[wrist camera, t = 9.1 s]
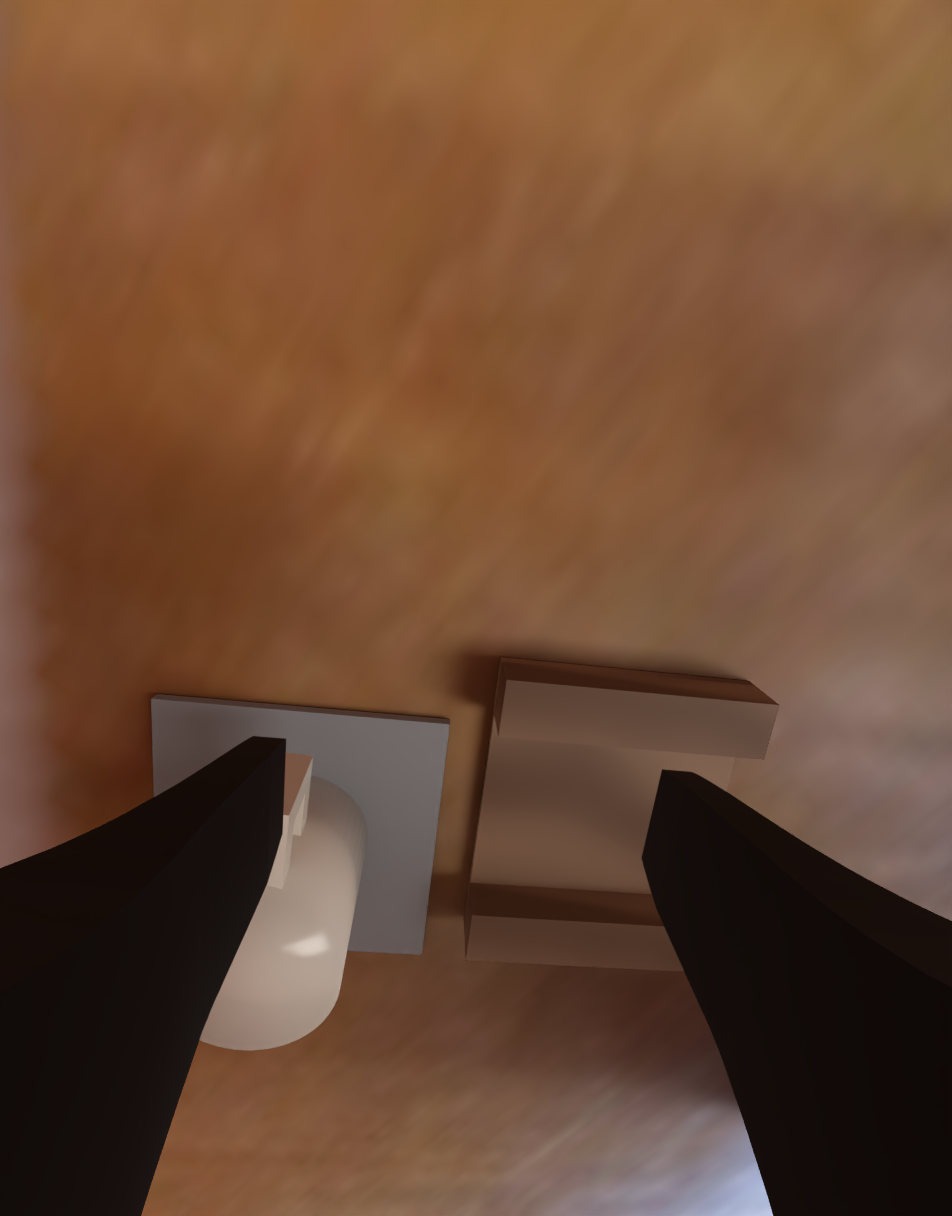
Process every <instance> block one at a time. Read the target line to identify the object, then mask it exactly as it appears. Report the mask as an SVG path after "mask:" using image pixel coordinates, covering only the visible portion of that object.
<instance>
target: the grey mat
mask: <svg viewBox="0 0 952 1216" xmlns="http://www.w3.org/2000/svg"><path fill="white" fill-rule="evenodd" d="M151 714H152V752H153V790H154V797H155V796H157V795H159V794H161V793H162V792H164V791H166V790H168V789H169V788H171V787H173V786H175V785H176V784H178V783H180V782H181V781H183V780H184V779H186V778H187V777H189V776H191V775H192V774H194V773H195V772H197V771H198V770H200V769H202V768H203V767H205V766H206V765H208V764H209V763H211V762H213V761H214V760H216V759H217V758H219V757H220V756H222V755H223V754H225V753H226V752H228V751H229V750H231V749H232V748H234V747H235V746H237V745H239V744H240V743H242V742H243V741H245V740H247V739H248V738H250V737H252V736H260V737H272V738H284V739H286V753H295V754H303V755H312V756H313V763H312V772H311V776H315V777H319V778H322V779H325V780H327V781H329V782H331V783H333V784H335V785H337V786H338V787H340V788H341V789H343V790H344V791H345V792H347V793H348V794H349V795H350V796H351V797H352V798H353V800H354V801H355V802H356V803H357V805H358V806H359V808H360V810H361V811H362V813H363V816H364V818H365V822H366V826H367V834H368V836H367V845H366V851H365V856H364V862H363V867H362V873H361V878H360V883H359V889H358V894H357V900H356V905H355V911H354V916H353V921H352V927H351V932H350V938H349V943H348V949H347V951H359V952H378V953H397V954H416V955H422V949H423V940H424V932H425V924H426V916H427V907H428V899H429V891H430V883H431V874H432V866H433V858H434V850H435V841H436V833H437V825H438V817H439V808H440V800H441V792H442V784H443V775H444V767H445V759H446V751H447V742H448V734H449V726H450V719H442V718H431V717H419V716H407V715H396V714H384V713H373V712H361V711H350V710H338V709H326V708H315V707H303V706H292V705H280V704H268V703H257V702H245V701H234V700H222V699H211V698H199V697H187V696H176V695H164V694H156V695H155V696H154V697H153V698H151Z"/></svg>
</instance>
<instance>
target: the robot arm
mask: <svg viewBox="0 0 952 1216" xmlns="http://www.w3.org/2000/svg"><path fill="white" fill-rule="evenodd" d="M285 761H286V739H284V738H272V737H260V736H252V737H250V738H248V739H247V740H245V741H243V742H242V743H240V744H239V745H237V746H235V747H234V748H232V749H231V750H229V751H228V752H226V753H225V754H223V755H222V756H220V757H219V758H217V759H216V760H214V761H213V762H211V763H209V764H208V765H206V766H205V767H203V768H202V769H200V770H198V771H197V772H195V773H194V774H192V775H191V776H189V777H187V778H186V779H184V780H183V781H181V782H180V783H178V784H176V785H175V786H173V787H171V788H169V789H168V790H166V791H164V792H162V793H161V794H159V795H157V796H155V797H154V798H152V799H150V800H148V801H146V802H145V803H143V804H141V805H139V806H138V807H136V808H134V809H132V810H131V811H129V812H127V813H125V814H123V815H121V816H119V817H118V818H116V819H114V820H112V821H110V822H108V823H106V824H104V825H102V826H100V827H98V828H95V829H93V830H91V831H89V832H87V833H85V834H82V835H80V836H78V837H76V838H74V839H72V840H69V841H67V842H65V843H63V844H61V845H58V846H56V847H54V848H51V849H49V850H46V851H44V852H41V853H38V854H36V855H33V856H31V857H28V858H26V859H23V860H20V861H18V862H15V863H13V864H10V865H8V866H5V867H2V868H0V1216H141V1214H142V1211H143V1208H144V1205H145V1201H146V1198H147V1195H148V1192H149V1189H150V1186H151V1182H152V1179H153V1176H154V1173H155V1170H156V1167H157V1164H158V1161H159V1158H160V1155H161V1152H162V1149H163V1146H164V1143H165V1140H166V1137H167V1134H168V1131H169V1128H170V1125H171V1122H172V1119H173V1116H174V1113H175V1110H176V1107H177V1104H178V1101H179V1098H180V1095H181V1092H182V1089H183V1086H184V1083H185V1080H186V1077H187V1074H188V1072H189V1069H190V1066H191V1063H192V1060H193V1057H194V1054H195V1051H196V1048H197V1045H198V1042H199V1040H200V1037H201V1034H202V1031H203V1029H204V1026H205V1024H206V1021H207V1019H208V1016H209V1014H210V1012H211V1009H212V1007H213V1004H214V1002H215V1000H216V997H217V995H218V993H219V991H220V989H221V986H222V984H223V982H224V980H225V977H226V975H227V973H228V971H229V969H230V966H231V964H232V962H233V960H234V957H235V955H236V953H237V951H238V949H239V946H240V944H241V942H242V940H243V938H244V935H245V933H246V931H247V929H248V926H249V924H250V922H251V920H252V917H253V915H254V913H255V911H256V908H257V906H258V904H259V902H260V899H261V897H262V895H263V893H264V890H265V888H266V886H267V883H268V880H269V877H270V874H271V870H272V867H273V864H274V861H275V858H276V854H277V851H278V847H279V844H280V841H281V837H282V834H283V810H284V785H285ZM641 859H642V862H643V866H644V869H645V873H646V877H647V880H648V884H649V887H650V890H651V894H652V897H653V900H654V903H655V906H656V909H657V911H658V914H659V916H660V918H661V921H662V923H663V925H664V927H665V930H666V932H667V934H668V936H669V939H670V941H671V943H672V945H673V948H674V950H675V952H676V954H677V957H678V959H679V961H680V963H681V965H682V967H683V970H684V972H685V974H686V976H687V978H688V981H689V983H690V985H691V987H692V989H693V992H694V994H695V996H696V998H697V1000H698V1003H699V1005H700V1007H701V1009H702V1011H703V1014H704V1016H705V1018H706V1020H707V1022H708V1025H709V1027H710V1029H711V1032H712V1034H713V1037H714V1039H715V1042H716V1044H717V1047H718V1049H719V1052H720V1054H721V1057H722V1060H723V1062H724V1065H725V1068H726V1071H727V1074H728V1077H729V1080H730V1083H731V1086H732V1088H733V1091H734V1094H735V1097H736V1100H737V1103H738V1106H739V1109H740V1112H741V1114H742V1117H743V1120H744V1123H745V1127H746V1130H747V1133H748V1136H749V1139H750V1142H751V1145H752V1148H753V1152H754V1155H755V1158H756V1161H757V1164H758V1167H759V1170H760V1174H761V1177H762V1180H763V1183H764V1186H765V1189H766V1192H767V1195H768V1199H769V1202H770V1206H771V1209H772V1213H773V1216H952V921H950V920H948V919H946V918H944V917H941V916H939V915H937V914H935V913H933V912H931V911H929V910H927V909H924V908H922V907H920V906H918V905H916V904H914V903H912V902H910V901H908V900H906V899H904V898H902V897H900V896H898V895H897V894H895V893H893V892H891V891H889V890H887V889H885V888H883V887H881V886H879V885H877V884H875V883H873V882H871V881H870V880H868V879H866V878H864V877H862V876H860V875H859V874H857V873H855V872H853V871H851V870H850V869H848V868H846V867H844V866H843V865H841V864H839V863H838V862H836V861H834V860H833V859H831V858H829V857H828V856H826V855H824V854H823V853H821V852H819V851H818V850H816V849H814V848H813V847H811V846H809V845H808V844H806V843H804V842H803V841H801V840H800V839H798V838H796V837H795V836H793V835H792V834H790V833H789V832H787V831H786V830H784V829H782V828H781V827H779V826H778V825H776V824H775V823H773V822H772V821H770V820H769V819H767V818H766V817H764V816H763V815H761V814H759V813H758V812H756V811H755V810H753V809H752V808H750V807H749V806H747V805H746V804H744V803H743V802H741V801H740V800H738V799H737V798H735V797H734V796H732V795H731V794H729V793H728V792H726V791H725V790H723V789H721V788H720V787H718V786H717V785H715V784H713V783H712V782H710V781H708V780H707V779H705V778H703V777H701V776H699V775H698V774H696V773H694V772H689V771H676V770H664V769H662V771H661V776H660V780H659V784H658V789H657V793H656V797H655V802H654V806H653V810H652V815H651V819H650V823H649V828H648V832H647V836H646V840H645V845H644V849H643V853H642V858H641Z"/></svg>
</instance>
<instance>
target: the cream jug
mask: <svg viewBox="0 0 952 1216" xmlns="http://www.w3.org/2000/svg"><path fill="white" fill-rule="evenodd" d="M312 763H313V756H312V755H303V754H295V753H286V761H285V785H284V810H283V834H282V837H281V841H280V844H279V847H278V851H277V854H276V858H275V861H274V864H273V867H272V870H271V874H270V877H269V880H268V883H267V886H266V888H265V890H264V893H263V895H262V897H261V899H260V902H259V904H258V906H257V908H256V911H255V913H254V915H253V917H252V920H251V922H250V924H249V926H248V929H247V931H246V933H245V935H244V938H243V940H242V942H241V944H240V946H239V949H238V951H237V953H236V955H235V957H234V960H233V962H232V964H231V966H230V969H229V971H228V973H227V975H226V977H225V980H224V982H223V984H222V986H221V989H220V991H219V993H218V995H217V997H216V1000H215V1002H214V1004H213V1007H212V1009H211V1012H210V1014H209V1016H208V1019H207V1021H206V1024H205V1026H204V1029H203V1031H202V1034H201V1037H200V1040H201V1041H203V1042H205V1043H208V1044H211V1045H214V1046H218V1047H222V1048H227V1049H235V1050H264V1049H270V1048H275V1047H279V1046H282V1045H286V1044H289V1043H291V1042H294V1041H296V1040H298V1039H300V1038H302V1037H304V1036H306V1035H307V1034H309V1033H310V1032H311V1031H313V1030H314V1029H316V1028H317V1027H318V1026H319V1025H320V1024H321V1023H322V1022H323V1021H324V1020H325V1019H326V1018H327V1016H328V1015H329V1014H330V1012H331V1011H332V1009H333V1007H334V1006H335V1003H336V1001H337V998H338V996H339V991H340V987H341V981H342V976H343V970H344V965H345V960H346V954H347V949H348V943H349V938H350V932H351V927H352V921H353V916H354V911H355V905H356V900H357V894H358V889H359V883H360V878H361V873H362V867H363V862H364V856H365V851H366V845H367V836H368V834H367V826H366V822H365V818H364V816H363V813H362V811H361V810H360V808H359V806H358V805H357V803H356V802H355V801H354V800H353V798H352V797H351V796H350V795H349V794H348V793H347V792H345V791H344V790H343V789H341V788H340V787H338V786H337V785H335V784H333V783H331V782H329V781H327V780H325V779H322V778H319V777H315V776H311V772H312Z"/></svg>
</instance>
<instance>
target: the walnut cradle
mask: <svg viewBox="0 0 952 1216" xmlns="http://www.w3.org/2000/svg"><path fill="white" fill-rule="evenodd" d="M778 708H779V704H777V703H776V702H775V701H774V700H772V699H771V698H770V697H769V696H767V695H766V694H765V693H764V692H762V691H761V690H760V689H759V688H757V687H756V686H755V685H753V684H752V683H751V682H750V681H744V680H733V679H723V678H712V677H702V676H692V675H681V674H671V673H660V672H650V671H639V670H629V669H619V668H608V667H598V666H587V665H577V664H566V663H556V662H546V661H535V660H525V659H514V658H504V657H501V659H500V666H499V673H498V680H497V687H496V694H495V701H494V708H493V715H492V722H491V729H490V736H489V744H488V751H487V758H486V765H485V772H484V779H483V786H482V793H481V800H480V807H479V814H478V821H477V828H476V835H475V842H474V849H473V856H472V863H471V871H470V878H469V885H468V892H467V899H466V906H465V913H464V933H465V955H466V961H484V962H503V963H523V964H542V965H561V966H581V967H600V968H619V969H639V970H658V971H677V972H684V970H683V967H682V965H681V963H680V961H679V959H678V957H677V954H676V952H675V950H674V948H673V945H672V943H671V941H670V939H669V936H668V934H667V932H666V930H665V927H664V925H663V923H662V921H661V918H660V916H659V914H658V911H657V909H656V906H655V903H654V900H653V897H652V894H651V890H650V887H649V884H648V880H647V877H646V873H645V869H644V866H643V862H642V859H641V858H642V853H643V849H644V845H645V840H646V836H647V832H648V828H649V823H650V819H651V815H652V810H653V806H654V802H655V797H656V793H657V789H658V784H659V780H660V776H661V771H662V769H664V770H676V771H689V772H694V773H696V774H698V775H699V776H701V777H703V778H705V779H707V780H708V781H710V782H712V783H713V784H715V785H717V786H718V787H720V788H721V789H723V790H725V791H727V788H728V784H729V780H730V776H731V773H732V769H733V765H734V761H735V758H736V757H738V758H750V759H762V760H764V758H765V755H766V751H767V747H768V744H769V740H770V737H771V733H772V730H773V726H774V723H775V719H776V716H777V712H778Z"/></svg>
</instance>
